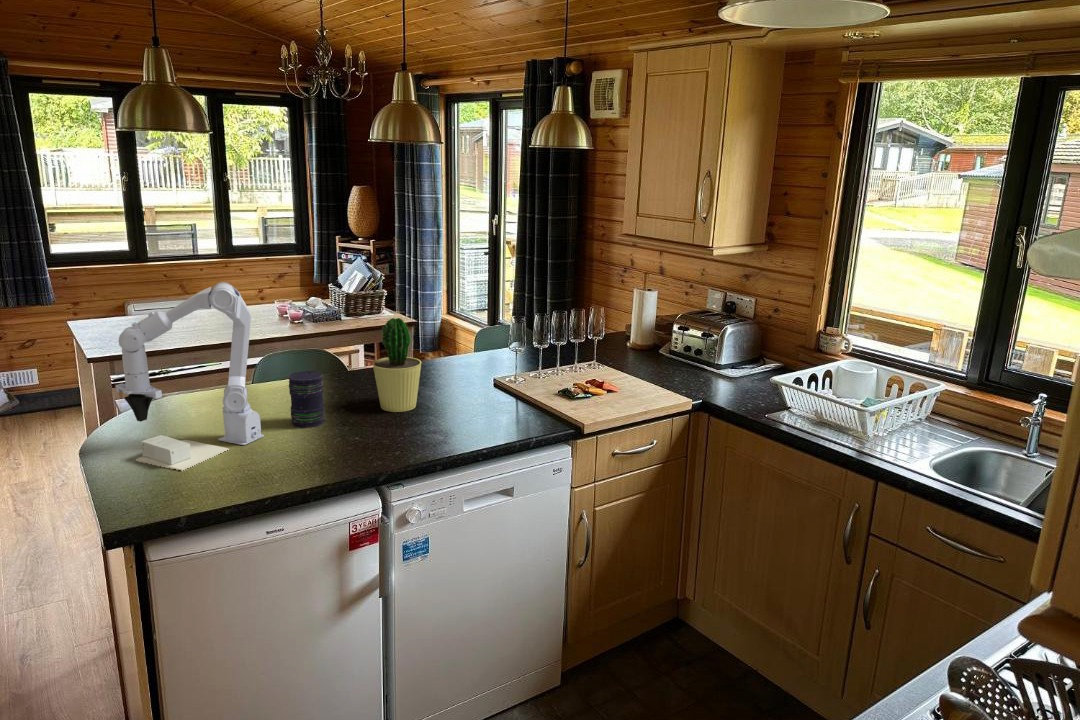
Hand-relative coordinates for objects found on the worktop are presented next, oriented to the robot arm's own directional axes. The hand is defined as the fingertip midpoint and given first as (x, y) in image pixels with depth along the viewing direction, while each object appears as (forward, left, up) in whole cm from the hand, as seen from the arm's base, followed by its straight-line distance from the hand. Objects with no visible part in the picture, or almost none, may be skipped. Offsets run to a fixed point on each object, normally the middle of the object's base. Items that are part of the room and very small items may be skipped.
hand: (142, 420), depth 203 cm
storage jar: (-27, -35, -8) cm, 45 cm away
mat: (-14, 0, -8) cm, 16 cm away
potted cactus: (-43, -60, -8) cm, 74 cm away
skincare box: (-6, +3, -5) cm, 8 cm away
